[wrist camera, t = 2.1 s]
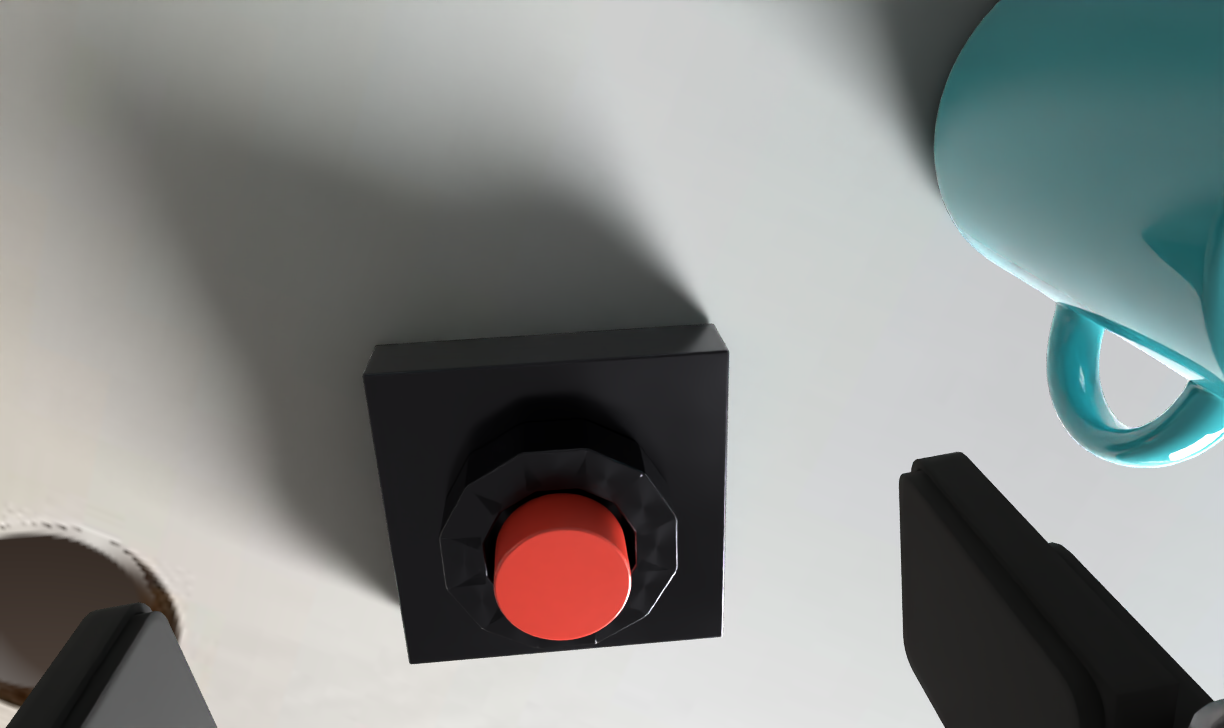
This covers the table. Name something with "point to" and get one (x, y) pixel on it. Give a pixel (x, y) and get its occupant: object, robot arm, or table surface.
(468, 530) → the button block
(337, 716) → the table surface
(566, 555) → the button
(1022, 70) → the cup
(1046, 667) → the robot arm
